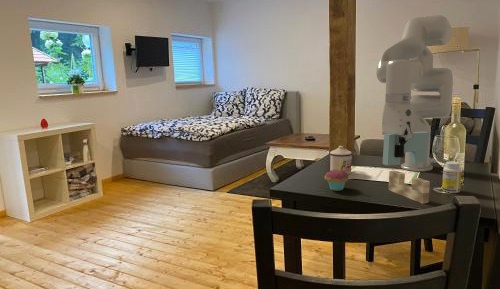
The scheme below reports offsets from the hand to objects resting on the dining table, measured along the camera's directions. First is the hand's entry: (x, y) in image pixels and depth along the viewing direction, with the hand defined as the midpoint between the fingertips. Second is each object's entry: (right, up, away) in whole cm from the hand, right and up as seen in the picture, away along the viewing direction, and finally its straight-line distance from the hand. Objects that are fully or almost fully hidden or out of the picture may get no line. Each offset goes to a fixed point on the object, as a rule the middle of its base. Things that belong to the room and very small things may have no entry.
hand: (395, 155), depth 121 cm
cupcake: (-16, -13, +15) cm, 25 cm away
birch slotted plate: (+6, -14, +5) cm, 16 cm away
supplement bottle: (+23, -13, +8) cm, 27 cm away
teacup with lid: (-8, -9, +38) cm, 39 cm away
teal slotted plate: (+4, -3, +2) cm, 5 cm away
